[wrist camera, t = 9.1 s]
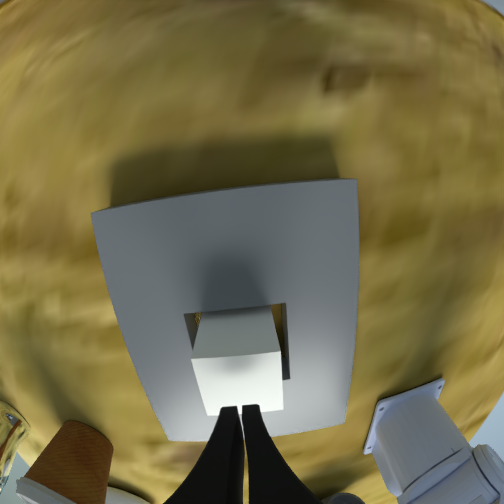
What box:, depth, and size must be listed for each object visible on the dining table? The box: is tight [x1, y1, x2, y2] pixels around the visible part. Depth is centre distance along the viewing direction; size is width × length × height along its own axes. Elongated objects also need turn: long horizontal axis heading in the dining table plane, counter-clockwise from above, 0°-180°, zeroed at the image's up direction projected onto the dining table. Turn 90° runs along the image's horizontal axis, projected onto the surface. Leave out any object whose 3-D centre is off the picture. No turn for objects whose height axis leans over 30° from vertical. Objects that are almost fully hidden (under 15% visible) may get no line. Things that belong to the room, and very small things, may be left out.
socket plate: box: [91, 178, 359, 441], centre depth 17 cm, size 18×14×2 cm
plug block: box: [191, 305, 284, 416], centre depth 15 cm, size 4×4×6 cm
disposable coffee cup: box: [16, 421, 113, 504], centre depth 16 cm, size 10×10×12 cm
